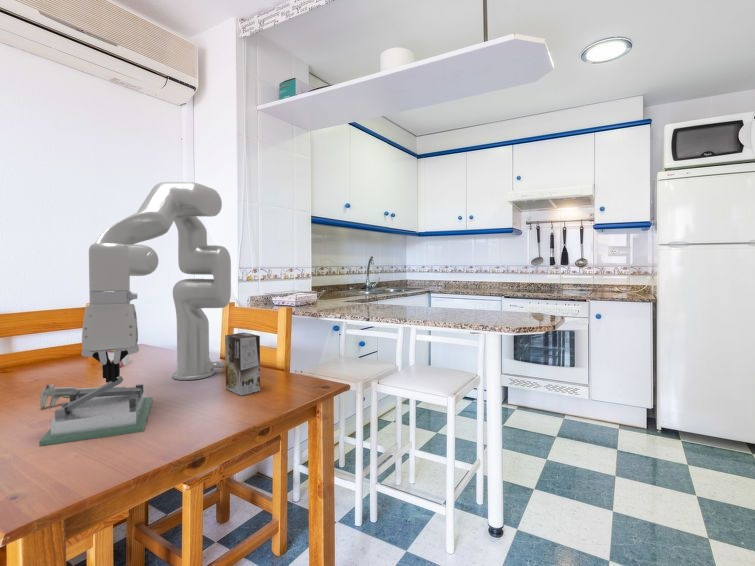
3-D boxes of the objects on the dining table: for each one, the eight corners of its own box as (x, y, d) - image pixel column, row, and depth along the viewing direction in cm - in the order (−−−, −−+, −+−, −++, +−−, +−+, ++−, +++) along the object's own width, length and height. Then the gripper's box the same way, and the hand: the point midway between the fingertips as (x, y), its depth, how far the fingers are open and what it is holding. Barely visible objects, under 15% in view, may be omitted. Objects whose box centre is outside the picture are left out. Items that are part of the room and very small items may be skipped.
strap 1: (60, 416, 86) (56, 411, 86) (64, 411, 89) (61, 407, 88) (121, 383, 90) (118, 378, 90) (123, 379, 93) (120, 375, 93)
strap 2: (141, 391, 102) (142, 386, 102) (140, 394, 100) (140, 389, 100) (81, 394, 97) (81, 389, 97) (78, 398, 94) (78, 393, 94)
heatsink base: (152, 400, 108) (152, 378, 108) (143, 431, 88) (142, 403, 88) (70, 410, 101) (69, 386, 100) (39, 446, 81) (38, 416, 80)
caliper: (42, 410, 101) (41, 386, 100) (40, 410, 101) (39, 385, 101) (130, 390, 117) (130, 369, 117) (128, 389, 118) (128, 368, 118)
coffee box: (261, 391, 116) (260, 335, 116) (240, 396, 112) (240, 338, 111) (245, 384, 123) (244, 331, 122) (224, 389, 118) (224, 334, 117)
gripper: (150, 297, 96) (151, 373, 97) (73, 298, 90) (75, 380, 91) (147, 299, 90) (148, 381, 90) (63, 300, 83) (65, 389, 84)
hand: (111, 380), depth 90 cm, fingers closed
